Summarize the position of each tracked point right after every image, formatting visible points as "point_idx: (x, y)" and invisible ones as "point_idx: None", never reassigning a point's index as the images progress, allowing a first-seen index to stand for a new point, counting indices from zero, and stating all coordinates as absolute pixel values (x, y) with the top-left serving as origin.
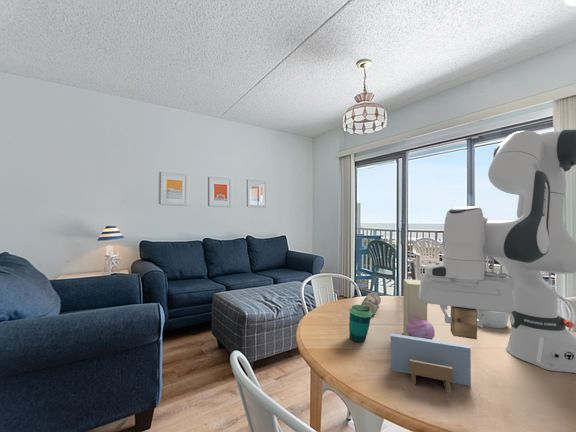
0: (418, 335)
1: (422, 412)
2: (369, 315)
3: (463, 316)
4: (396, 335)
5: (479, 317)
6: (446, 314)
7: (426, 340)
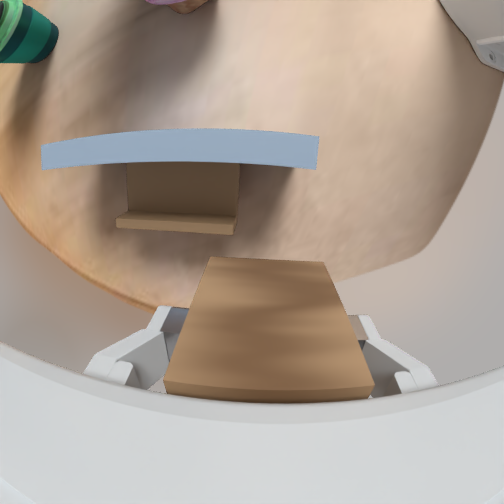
0: (163, 3)
1: (171, 292)
2: (8, 33)
3: None
4: (54, 155)
5: (368, 364)
6: (153, 376)
7: (144, 150)
